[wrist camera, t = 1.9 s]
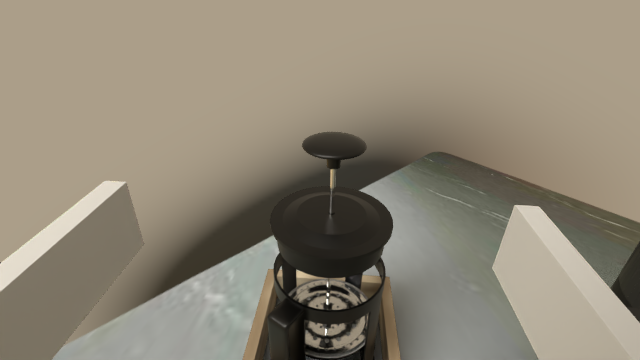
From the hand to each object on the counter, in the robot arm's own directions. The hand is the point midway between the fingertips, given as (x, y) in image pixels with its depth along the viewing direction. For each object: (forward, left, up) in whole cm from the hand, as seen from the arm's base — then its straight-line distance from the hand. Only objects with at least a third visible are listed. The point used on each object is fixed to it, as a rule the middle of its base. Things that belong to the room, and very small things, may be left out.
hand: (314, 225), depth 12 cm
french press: (0, -11, -25) cm, 27 cm away
